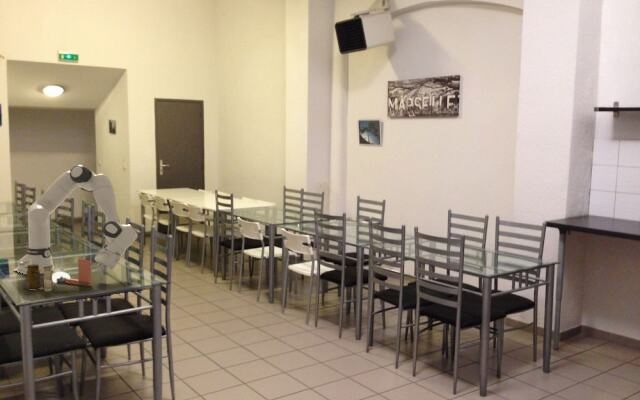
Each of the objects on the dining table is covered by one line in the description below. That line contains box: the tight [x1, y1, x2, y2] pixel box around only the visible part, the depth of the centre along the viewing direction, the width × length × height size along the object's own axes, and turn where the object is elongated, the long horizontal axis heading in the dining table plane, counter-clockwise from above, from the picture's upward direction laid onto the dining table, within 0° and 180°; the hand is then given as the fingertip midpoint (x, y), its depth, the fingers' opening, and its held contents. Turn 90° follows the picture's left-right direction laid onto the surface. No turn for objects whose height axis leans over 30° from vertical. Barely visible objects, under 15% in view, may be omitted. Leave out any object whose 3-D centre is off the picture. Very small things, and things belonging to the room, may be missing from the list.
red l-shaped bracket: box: [64, 255, 93, 287], centre depth 303 cm, size 16×2×16 cm, turn 71°
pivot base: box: [56, 275, 68, 285], centre depth 307 cm, size 5×5×3 cm
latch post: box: [43, 264, 54, 292], centre depth 291 cm, size 4×4×13 cm
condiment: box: [26, 264, 45, 290], centre depth 294 cm, size 7×8×12 cm
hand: (96, 271), depth 305 cm, fingers closed
